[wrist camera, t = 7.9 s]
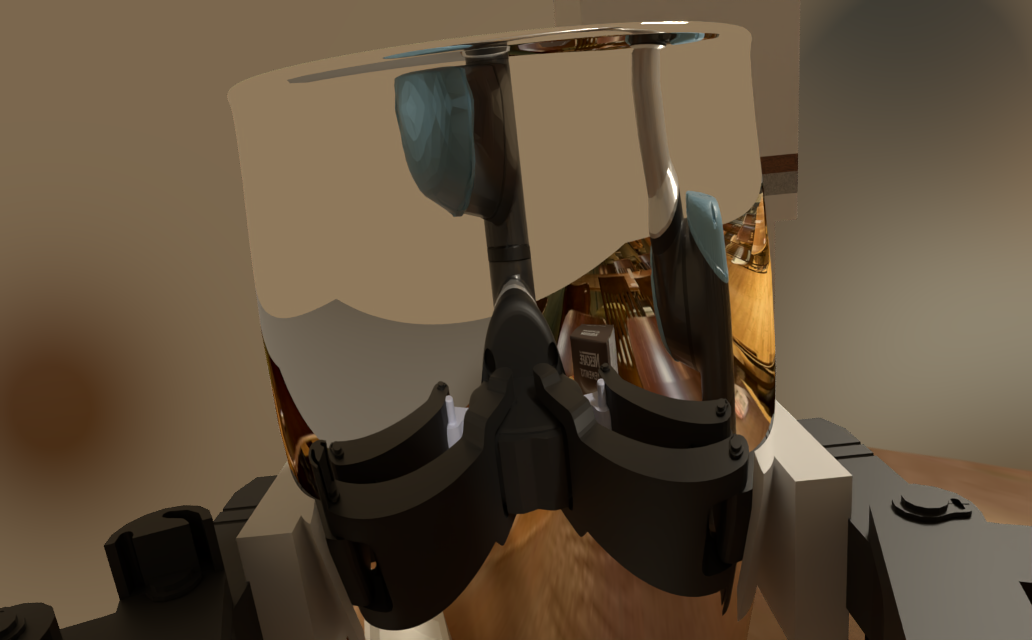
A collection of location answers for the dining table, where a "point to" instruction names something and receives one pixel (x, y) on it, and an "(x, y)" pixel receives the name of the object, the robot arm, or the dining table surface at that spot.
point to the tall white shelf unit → (775, 76)
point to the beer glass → (521, 328)
